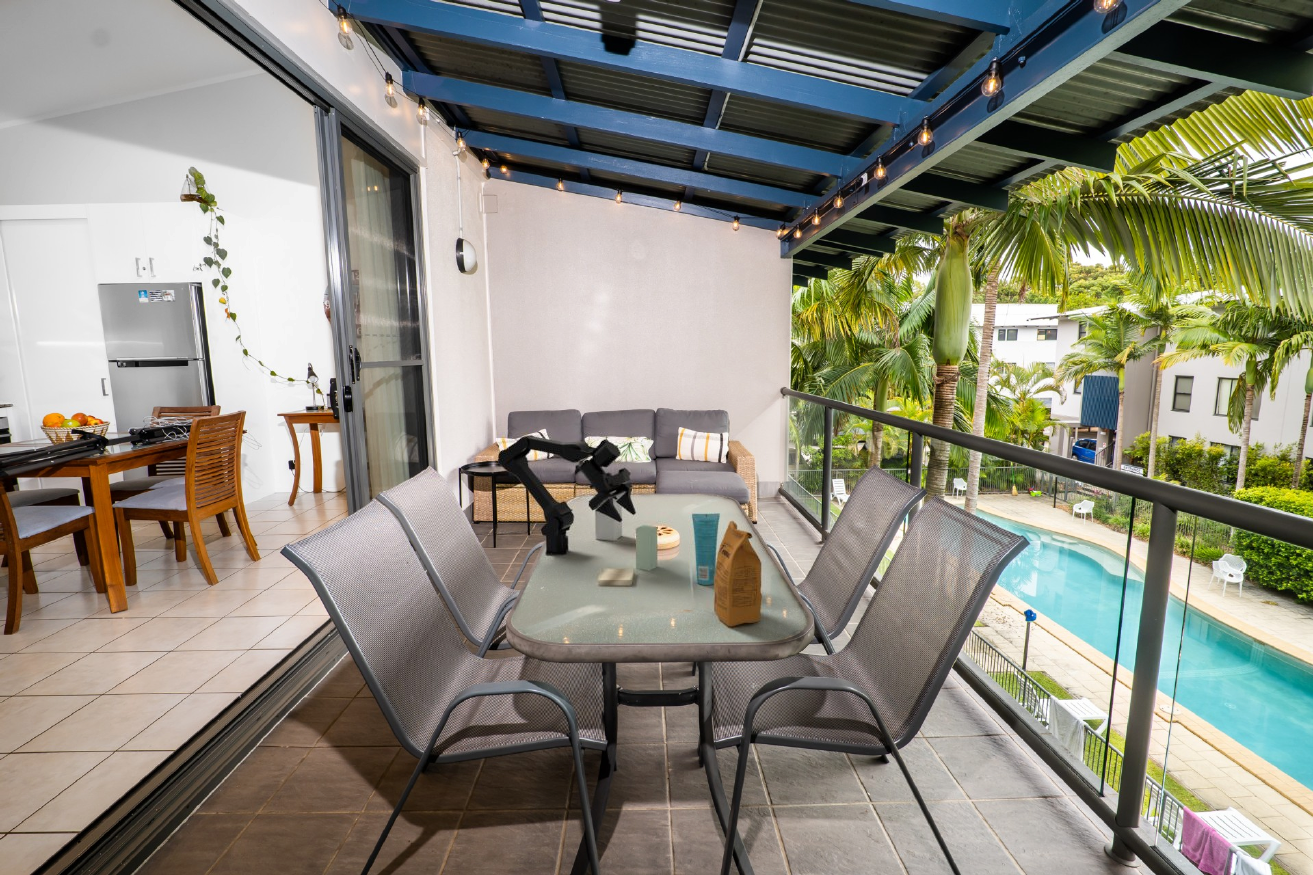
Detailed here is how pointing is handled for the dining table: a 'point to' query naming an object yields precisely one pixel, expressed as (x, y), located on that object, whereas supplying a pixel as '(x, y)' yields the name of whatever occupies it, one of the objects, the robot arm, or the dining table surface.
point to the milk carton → (608, 525)
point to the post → (646, 547)
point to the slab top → (616, 577)
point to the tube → (705, 546)
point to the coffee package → (737, 579)
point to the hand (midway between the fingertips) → (628, 517)
